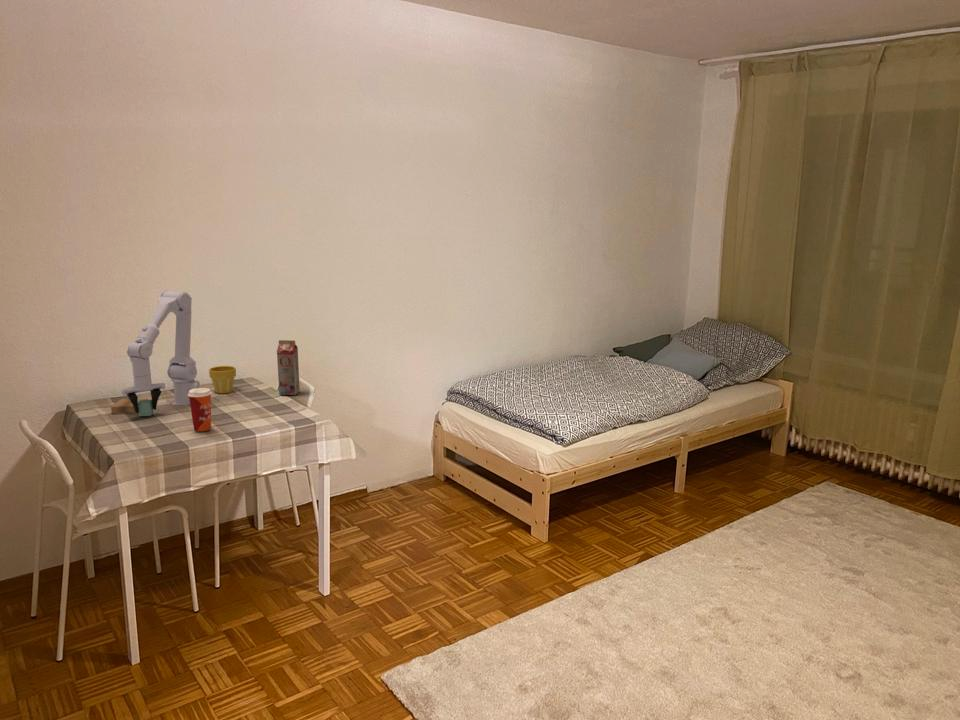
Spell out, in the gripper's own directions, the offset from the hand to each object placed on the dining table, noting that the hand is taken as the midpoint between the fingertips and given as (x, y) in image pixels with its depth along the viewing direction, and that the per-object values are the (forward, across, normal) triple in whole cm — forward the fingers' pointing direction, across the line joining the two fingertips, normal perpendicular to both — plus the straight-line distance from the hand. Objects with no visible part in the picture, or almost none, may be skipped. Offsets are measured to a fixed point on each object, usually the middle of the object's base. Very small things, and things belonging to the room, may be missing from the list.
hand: (145, 410), depth 266 cm
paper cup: (+2, -11, +27) cm, 29 cm away
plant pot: (+2, -35, -15) cm, 38 cm away
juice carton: (+2, -55, +3) cm, 55 cm away
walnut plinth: (+2, +2, -11) cm, 12 cm away
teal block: (+1, 0, 0) cm, 1 cm away
